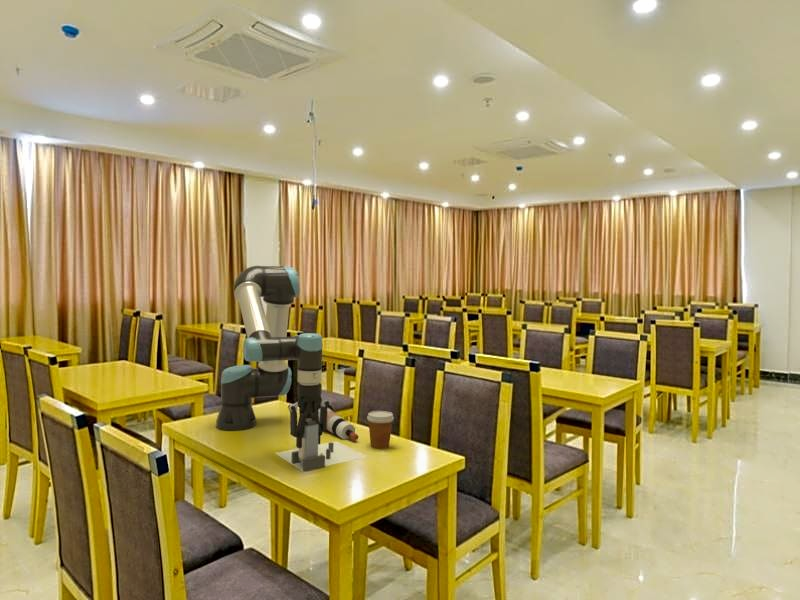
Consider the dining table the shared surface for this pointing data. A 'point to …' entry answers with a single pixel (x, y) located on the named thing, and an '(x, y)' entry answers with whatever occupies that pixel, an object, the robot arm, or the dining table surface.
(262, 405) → the dining table surface
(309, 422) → the block
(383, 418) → the disposable coffee cup
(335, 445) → the routing panel
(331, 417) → the cable
